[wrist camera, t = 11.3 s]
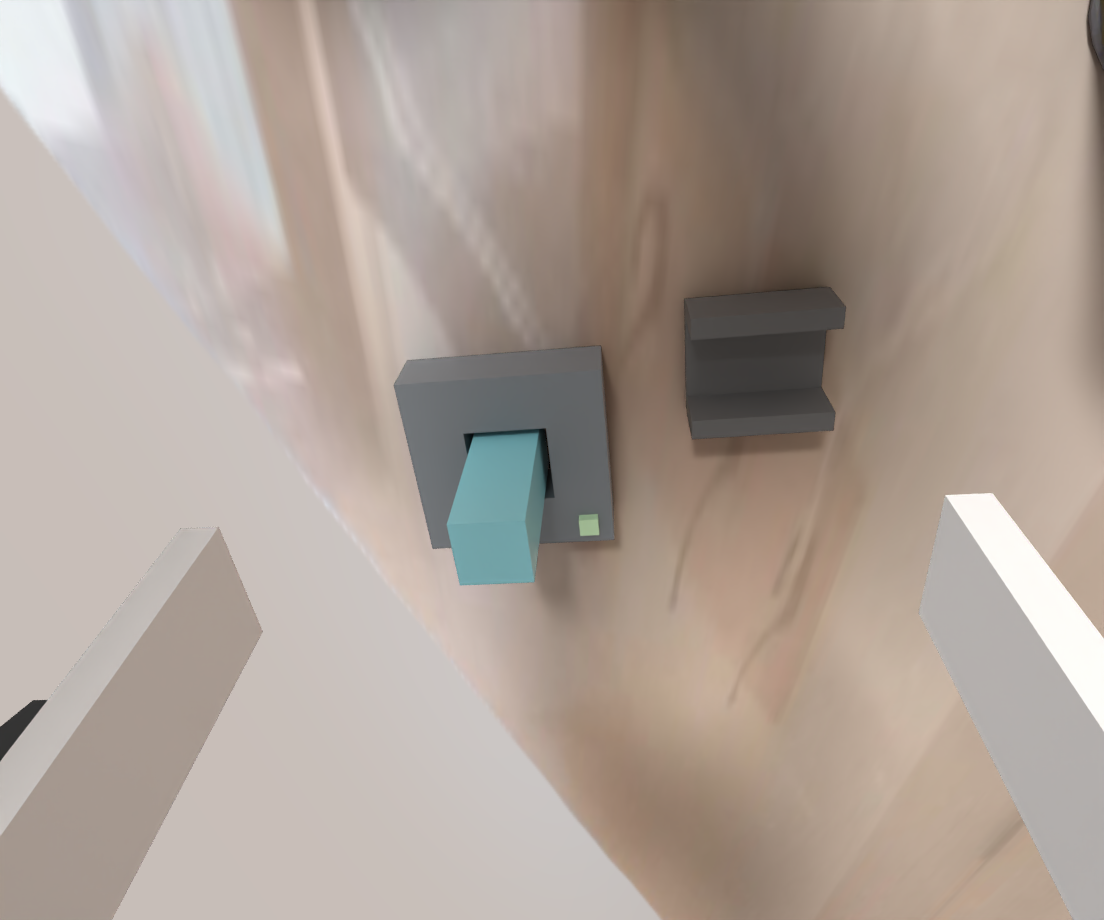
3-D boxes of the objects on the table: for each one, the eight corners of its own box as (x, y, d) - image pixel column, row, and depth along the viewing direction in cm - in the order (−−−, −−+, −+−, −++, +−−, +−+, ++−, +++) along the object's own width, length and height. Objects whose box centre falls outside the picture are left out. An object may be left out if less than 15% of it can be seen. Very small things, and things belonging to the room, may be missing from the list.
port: (407, 360, 46) (391, 389, 43) (600, 345, 45) (600, 374, 41) (442, 517, 52) (430, 554, 49) (613, 508, 51) (614, 545, 48)
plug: (480, 413, 48) (446, 524, 38) (542, 409, 47) (524, 520, 37) (489, 466, 50) (459, 585, 40) (548, 462, 49) (534, 582, 39)
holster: (684, 295, 43) (690, 319, 40) (827, 283, 42) (845, 306, 39) (685, 409, 47) (692, 439, 44) (817, 400, 46) (833, 430, 43)
